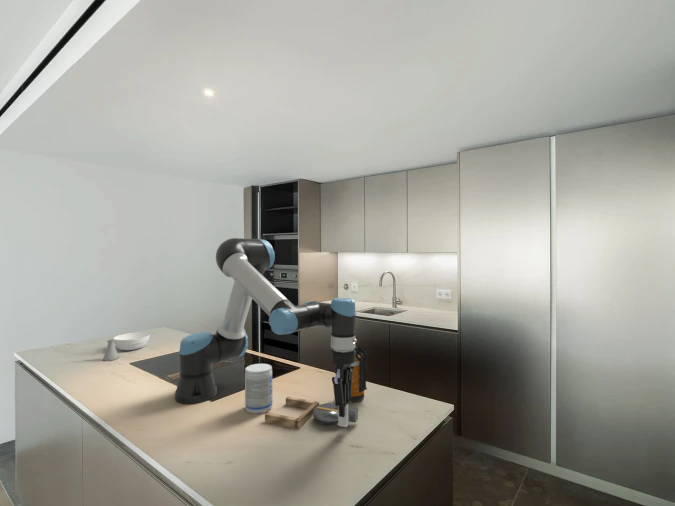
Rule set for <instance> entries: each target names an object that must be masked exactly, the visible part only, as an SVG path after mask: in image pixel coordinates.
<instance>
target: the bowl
mask: <svg viewBox="0 0 675 506" xmlns="http://www.w3.org/2000/svg"><path fill="white" fill-rule="evenodd" d="M150 334H151V333H148V332H130V333H129V332H127V333H124V334H119V335H116V336H114V337H113V338H112V339H115V341H114V345H115V348H116V349H118V350H121V351H134V350H139V349H141V348H143V347H145V346H146V345H147V344H148V342H149V339H150Z"/></svg>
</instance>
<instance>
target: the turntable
mask: <svg viewBox="0 0 675 506" xmlns="http://www.w3.org/2000/svg"><path fill="white" fill-rule="evenodd" d="M313 419H314V421H315V422H317V423H320V424H322V423H323V424H322V425H324V424H336V425H338V424H337V423H338V406H336V405H335V402H327V403H326V402H325V403H320V404H319V405H318V406H316V407H315V408H314V415H313ZM358 421H359V407H358V406H353V405H348V423H357V422H358Z"/></svg>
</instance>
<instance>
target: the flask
mask: <svg viewBox="0 0 675 506" xmlns="http://www.w3.org/2000/svg"><path fill="white" fill-rule="evenodd" d="M114 341H115V339H113V338H111V339H108V340H107V341H106V342H107V347H106V350H105V352H104V355H103V357H102V361H105V362H107V361H108V362H109V361H115V360H118V359H119V358H120V355H119V352H118V351H117V347H116V345H115V344H114Z"/></svg>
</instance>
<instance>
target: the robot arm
mask: <svg viewBox="0 0 675 506" xmlns="http://www.w3.org/2000/svg"><path fill="white" fill-rule="evenodd" d="M275 258H276V256H275V250H274V248H273V246H272V244H271V243H270V242H269V241H267V240H266V239H261V238H238V237H237V238H236V237H235V238H233V237H232V238H229V239H228V238H227V240H224V241H223V242H222V243H220V245H219V246H218V247H217V249H216V252H215V261H216V262H215V263H216V265H217V267H218V269H219V270H220V271H221V273H222V274H223V275H224V276H226V277H228V278H232V280H233V281H234V282H233V284H232V289H231V292H230V294H229V299H228V303H227V307H226V311H225V314H224V317H223V321H222V322H221V323H220V324H219V325H218V326H217V327H216V331H215V333H214V334H212V333H211V332H209V331H202V332H195V333H192V334H189V335H186V336H185V337H183V338H182V340H181V341H180V342H179V344H180V345H179V350H178V351H179V379H178V383H177V386H176V389H175V393H174V400H175V401H176V402H177V403H180V404H196V403H198V404H199V403H202V402H206V401H208V400H211V399H212V398H214V397H216V395H217V394H218V387H217V384H216V382H215V378H214V375H213V365H216V364H220V363H223V362H228V361H231V360H232V361H233V360H235V359H238V358H241V357H242V356H243V355H245V354H246V352H247V350H248V347H249V341H248V340H249V337H248V334H247V333H246V329H245V325H246V324H245V323H246V321H247V317H248V314H249V310H250V307H251V304H252V301H254V302H255V303H256V304H257V305H258V306H259V307H260V308H261V310H263V311H264V313H265V314H267V316H268V317H269V318H268V323H269V324H268V325H269V326H270V330H271V331H272V332H273V333H274V334H276V335H279V336H280V335H281V336H283V335H290V334H293V333H296V332H299V331H304V330H308V329H312V328H317V327H324V328H329V329H330V348H331V351H330V360H331V363H333V364H335V371H334V374H335V376H332V377H331V381H332V386H333V393H334V394H333V395H334V403H335V405H336V406H338V424H337V425H338V426H339V427H344V428H348V426H349V422H348V406H349V404H351V403H352V401H350V400H349V399H350V398H351V389H352V376H353V369H354V366H351V364H352V363H354V362H355V360H356V351H355V349H354V348H355V347H356V343H358V339H356V317H357V316H356V315H357V312H356V301H355V300H354V299H353V298H349V297H334V298H333V299H331V301H330V303H328V302H320V301H316V300H314V301H313V300H311V301H309V300H307V301H306V302H304V303H303V304H300V305H295V304H294V303H293V302H291V301H290V300H289V299H288V298H287V297H286V296H285V295H284V294H283V293H282V292H281V291H280V290H279V289H278V288H276V287H275V286H274V285H273V284H272V283H271V282H270V281H269V280H268V279H267V278H266V277H265V276H264V274H265V271H266V270H268V269H271V268H272V266H273V265H274V262H275Z"/></svg>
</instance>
